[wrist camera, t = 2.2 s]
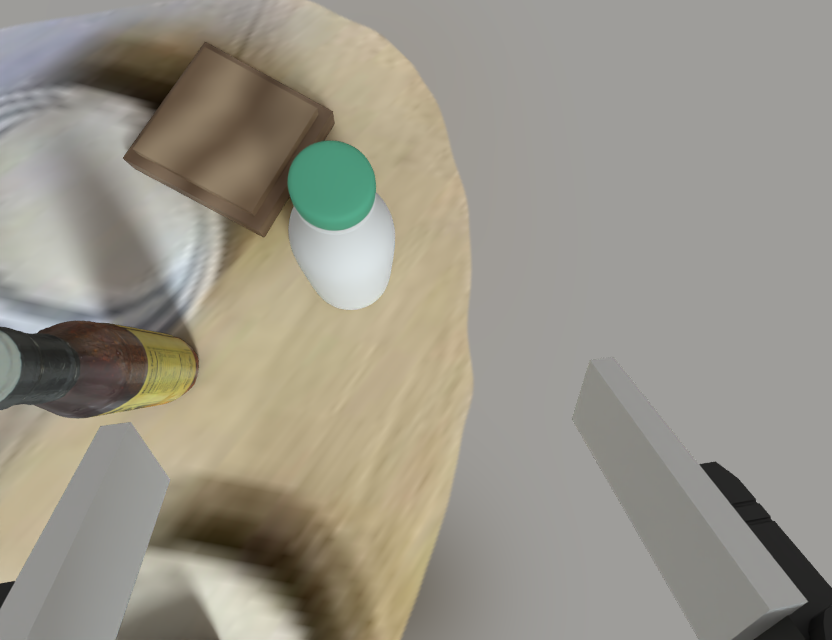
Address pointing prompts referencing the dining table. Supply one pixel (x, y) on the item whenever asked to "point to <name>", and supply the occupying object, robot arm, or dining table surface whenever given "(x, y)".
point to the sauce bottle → (93, 368)
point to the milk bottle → (340, 225)
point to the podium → (229, 138)
